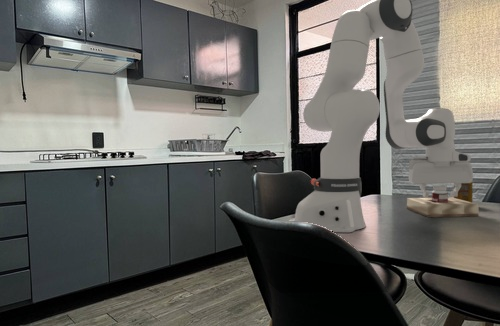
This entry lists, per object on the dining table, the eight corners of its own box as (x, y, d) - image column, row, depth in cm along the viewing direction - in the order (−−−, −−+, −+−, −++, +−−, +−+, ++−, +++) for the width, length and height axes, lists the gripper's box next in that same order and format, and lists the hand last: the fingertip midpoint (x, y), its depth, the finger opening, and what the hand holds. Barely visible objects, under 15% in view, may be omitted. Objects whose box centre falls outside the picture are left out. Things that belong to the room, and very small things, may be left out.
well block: (427, 217, 112) (427, 205, 112) (407, 208, 128) (406, 198, 128) (478, 216, 111) (478, 204, 111) (451, 207, 127) (451, 197, 127)
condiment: (476, 205, 131) (476, 173, 131) (470, 208, 125) (469, 175, 125) (454, 203, 136) (454, 172, 136) (447, 206, 130) (447, 174, 130)
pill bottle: (429, 208, 122) (429, 184, 121) (443, 208, 122) (443, 184, 121) (436, 211, 117) (436, 186, 117) (450, 210, 117) (450, 186, 116)
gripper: (413, 157, 116) (413, 198, 116) (475, 156, 115) (475, 197, 116) (405, 156, 122) (405, 195, 123) (464, 155, 121) (464, 195, 122)
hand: (440, 196), depth 119 cm, fingers open, 8 cm apart
